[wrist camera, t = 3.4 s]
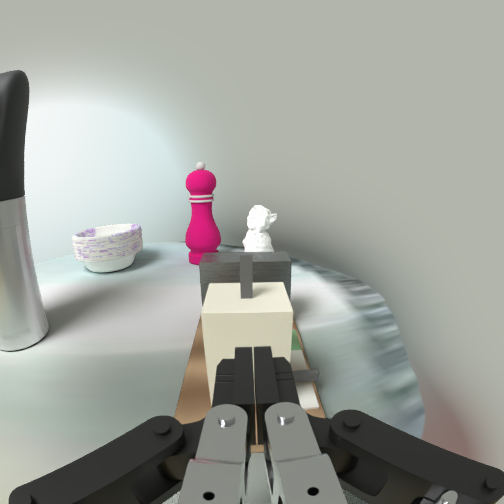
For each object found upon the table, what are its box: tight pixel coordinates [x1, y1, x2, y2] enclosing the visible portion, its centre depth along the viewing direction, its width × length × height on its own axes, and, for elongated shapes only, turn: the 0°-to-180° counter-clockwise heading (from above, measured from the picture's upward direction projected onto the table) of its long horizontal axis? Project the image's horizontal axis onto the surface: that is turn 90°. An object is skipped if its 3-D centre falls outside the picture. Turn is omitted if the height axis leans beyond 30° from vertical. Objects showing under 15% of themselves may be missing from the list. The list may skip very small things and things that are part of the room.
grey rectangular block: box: [199, 251, 292, 308], centre depth 35 cm, size 4×10×7 cm, turn 92°
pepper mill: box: [185, 162, 221, 265], centre depth 58 cm, size 7×7×20 cm
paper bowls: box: [72, 224, 143, 273], centre depth 56 cm, size 15×15×8 cm
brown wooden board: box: [174, 316, 326, 453], centre depth 27 cm, size 22×11×1 cm, turn 2°
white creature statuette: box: [243, 205, 277, 252], centre depth 53 cm, size 10×9×12 cm
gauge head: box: [201, 252, 319, 406], centre depth 21 cm, size 5×8×11 cm, turn 91°
